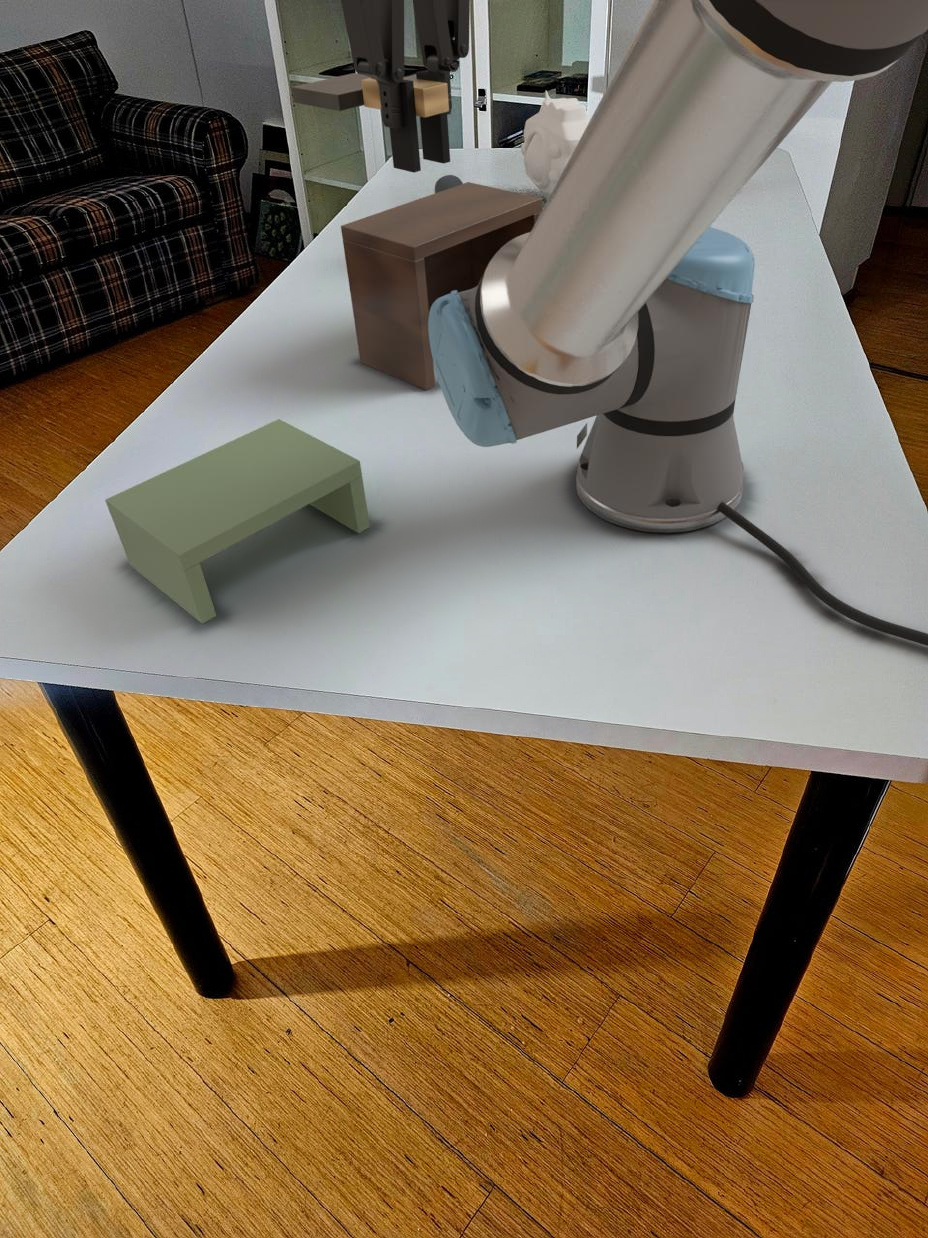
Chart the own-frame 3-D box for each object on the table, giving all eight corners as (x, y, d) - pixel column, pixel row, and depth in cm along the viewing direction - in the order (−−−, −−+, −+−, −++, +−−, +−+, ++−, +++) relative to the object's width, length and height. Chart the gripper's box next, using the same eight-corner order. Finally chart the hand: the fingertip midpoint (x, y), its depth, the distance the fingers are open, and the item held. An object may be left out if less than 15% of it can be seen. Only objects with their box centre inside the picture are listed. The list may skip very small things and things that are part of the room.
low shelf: (370, 527, 81) (360, 460, 77) (202, 624, 72) (179, 555, 68) (292, 482, 88) (278, 418, 84) (130, 565, 79) (104, 499, 74)
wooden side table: (542, 332, 112) (542, 197, 101) (426, 390, 101) (413, 246, 91) (474, 310, 118) (468, 181, 108) (360, 362, 108) (340, 225, 98)
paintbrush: (518, 220, 146) (517, 187, 143) (494, 227, 144) (493, 195, 141) (445, 197, 158) (443, 167, 155) (423, 204, 156) (420, 173, 153)
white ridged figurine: (566, 185, 159) (567, 83, 149) (613, 212, 146) (618, 102, 136) (509, 196, 157) (507, 92, 146) (553, 223, 144) (553, 112, 133)
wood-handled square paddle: (469, 105, 73) (467, 77, 72) (403, 123, 70) (401, 94, 68) (356, 87, 82) (352, 62, 81) (293, 102, 79) (289, 76, 77)
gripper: (440, -211, 66) (460, 139, 81) (262, -206, 59) (321, 179, 74) (511, -222, 62) (518, 150, 77) (328, -217, 54) (377, 194, 69)
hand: (422, 163), depth 75 cm, fingers closed on wood-handled square paddle, 3 cm apart
